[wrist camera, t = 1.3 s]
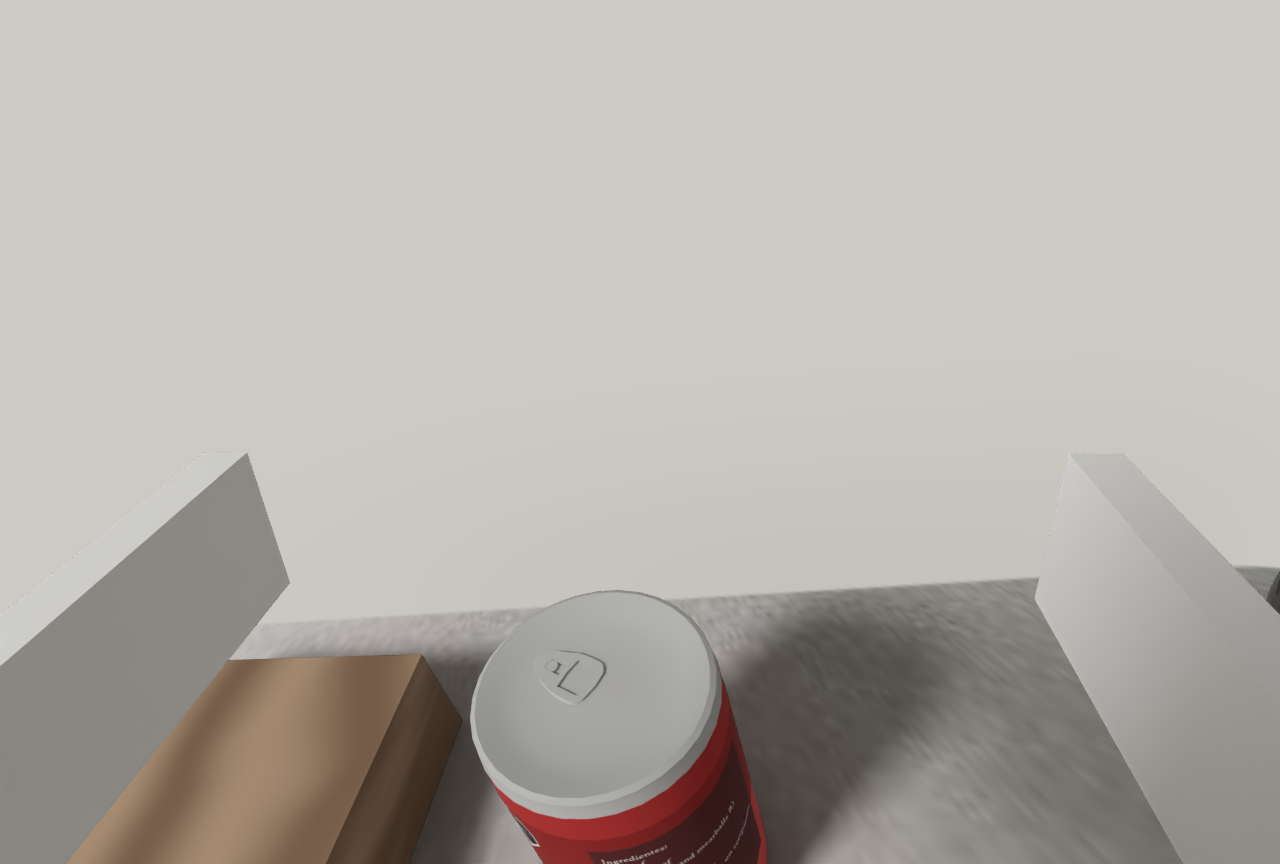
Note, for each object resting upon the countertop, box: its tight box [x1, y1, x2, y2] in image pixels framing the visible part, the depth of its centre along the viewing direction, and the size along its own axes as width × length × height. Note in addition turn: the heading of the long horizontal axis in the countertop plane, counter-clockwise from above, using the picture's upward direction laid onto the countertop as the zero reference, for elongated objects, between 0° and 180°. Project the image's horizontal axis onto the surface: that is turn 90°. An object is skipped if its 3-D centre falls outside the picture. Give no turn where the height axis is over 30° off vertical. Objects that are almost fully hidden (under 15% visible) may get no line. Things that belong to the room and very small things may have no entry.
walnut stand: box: [66, 654, 462, 864], centre depth 31 cm, size 16×16×5 cm
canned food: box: [470, 590, 767, 864], centre depth 26 cm, size 8×8×11 cm
